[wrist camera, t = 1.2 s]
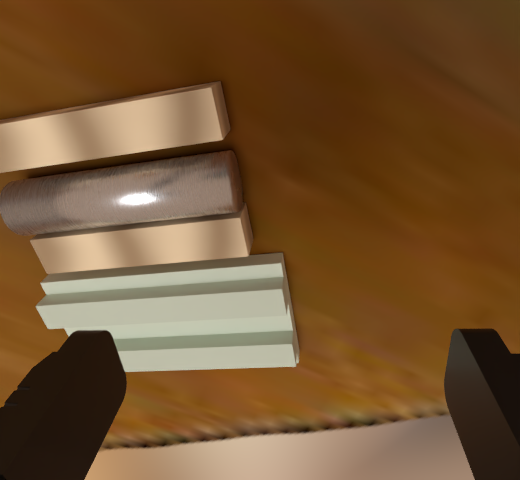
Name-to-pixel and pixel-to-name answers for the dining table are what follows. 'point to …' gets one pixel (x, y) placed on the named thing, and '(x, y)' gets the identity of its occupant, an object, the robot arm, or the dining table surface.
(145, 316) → the grooved block
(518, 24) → the dining table surface
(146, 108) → the wooden blocks
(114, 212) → the axle
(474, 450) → the robot arm
